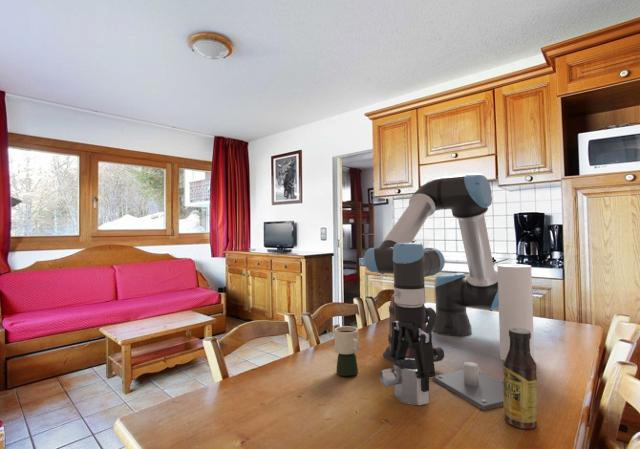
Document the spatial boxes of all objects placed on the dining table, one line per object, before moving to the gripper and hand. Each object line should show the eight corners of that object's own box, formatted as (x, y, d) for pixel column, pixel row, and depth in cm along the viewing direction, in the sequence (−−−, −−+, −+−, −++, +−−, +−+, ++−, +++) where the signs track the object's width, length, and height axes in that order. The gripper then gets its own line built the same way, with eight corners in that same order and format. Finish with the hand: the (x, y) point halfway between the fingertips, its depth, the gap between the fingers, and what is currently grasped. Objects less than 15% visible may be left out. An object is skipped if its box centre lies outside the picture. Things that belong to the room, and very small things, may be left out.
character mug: (368, 377, 99) (367, 331, 99) (347, 383, 95) (346, 335, 95) (346, 365, 108) (345, 323, 108) (327, 370, 105) (326, 326, 105)
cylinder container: (539, 365, 105) (536, 265, 105) (505, 363, 107) (502, 265, 107) (527, 354, 114) (524, 262, 115) (496, 353, 116) (493, 262, 116)
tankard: (372, 352, 119) (371, 293, 120) (411, 344, 127) (410, 289, 127) (419, 377, 98) (417, 306, 99) (463, 366, 105) (461, 300, 106)
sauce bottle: (497, 416, 77) (494, 326, 78) (524, 414, 78) (521, 324, 78) (516, 433, 71) (513, 334, 71) (545, 430, 71) (542, 333, 72)
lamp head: (415, 387, 92) (415, 356, 92) (435, 400, 85) (434, 367, 85) (376, 395, 88) (375, 363, 88) (393, 410, 81) (392, 375, 81)
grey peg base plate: (432, 379, 97) (432, 357, 97) (472, 371, 101) (471, 350, 102) (484, 410, 80) (483, 383, 80) (528, 398, 85) (527, 373, 85)
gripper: (375, 298, 96) (377, 381, 96) (423, 314, 76) (426, 419, 76) (399, 296, 99) (401, 377, 98) (450, 311, 79) (453, 412, 79)
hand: (412, 395), depth 87 cm, fingers closed on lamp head, 8 cm apart
